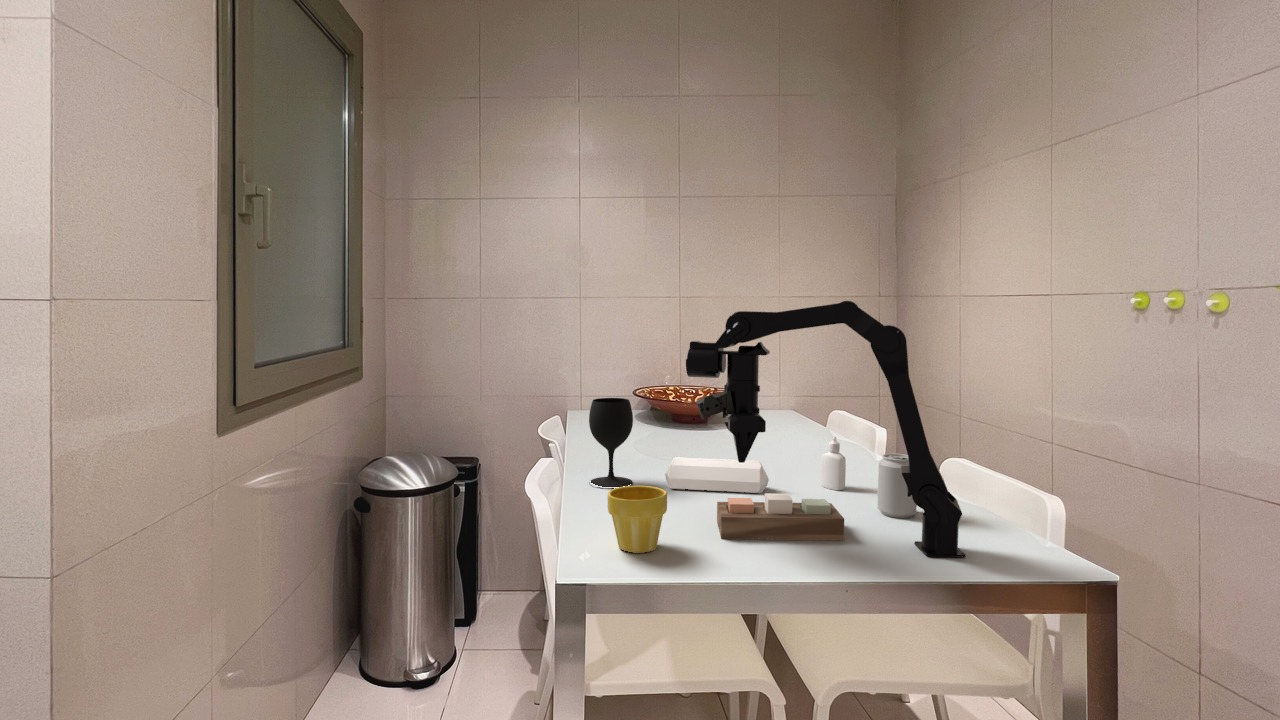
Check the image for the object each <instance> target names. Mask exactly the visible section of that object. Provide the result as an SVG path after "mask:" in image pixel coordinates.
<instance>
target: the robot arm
mask: <svg viewBox="0 0 1280 720" xmlns="http://www.w3.org/2000/svg"><path fill="white" fill-rule="evenodd" d="M839 324H844V325H845V326H848V327H849V328H850V329H851V330H853V331H854V333H857V335H858V336H860V337H862V338H863V339H864V340H866V341H867V342H868V343H870V349H871V351H872V352H873V355H874V356H875V359H876V361H877V362H878V365H879V367H880V369H881V371H882V373H883V374H884V377H885V378H886V381H887V385H888V387H889V391H890V395H891V398H892V402H893V406H894V409H895V413H896V416H897V420H898V423H899V426H900V431H901V435H902V438H903V441H904V446H905V449H906V453H907V455H908V463H909V466H901V471H902V476H903V478H904V480H905V482H906V489H907V496H908V497H910V496H911V495H912V498H913V500H914V503H915V504H916V505H917V507H919V508H920V509H921V510H923V512H922V523H921V541H918V540H917V541H916V540H915V541H914V543H913V545H914V546H915V547H916V548H917V549H919V550H920V551H921V552H922V553H923V554H924V555H925V556H926V557H929V558H930V557H931V558H935V557H936V558H966V556H967V554H966V553H965V552H964V551H963V550H962V549H960V548H959V527H960V526H959V524H960V523H959V522H960V520H961V518H962V516H963V512H962V509H961V507H960V504H959V502H958V499H957V498H956V497H955V496H954V495H953V494H952V493H951V492H950V491H949V490H948V487H947V485H946V483H945V480H944V478H943V475H942V474H941V472H940V469H939V467H938V466H937V463H936V461H935V459H934V456H933V455H932V454H931V451H930V448H929V444H928V441H927V437H926V434H925V431H924V427H923V422H922V419H921V415H920V412H919V408H918V404H917V400H916V397H915V394H914V393H915V392H914V390H913V386H912V382H911V379H910V372H909V357H908V345H907V343H908V342H907V338H906V336H905V333H904V332H903V331H902V330H901V329H900V328H899V327H897V326H895V325H892V324H885V325H884V324H883V323H881V322H880V321H878V320H877V318H874V317H873V316H871V315H870V314H869V313H867V312H866V311H864V310H863V309H862V308H860V307H859V305H858V304H857V303H856V302H853V301H851V300H843V301H841V302H839V303H832V304H824V305H818V306H811V307H805V308H803V307H802V308H797V309H789V310H782V311H754V310H753V311H751V310H750V311H748V310H743V311H736V312H732V313H731V314H730V315H729V316H728V318H727V319H726V323H725V330H724V331H723V332H722V334H721V335H720V336H719V338H717V340H716V342H702V341H698V340H696V341H695V340H694V341H690V342H689V348H688V351H687V354H686V355H687V356H686V359H685V369H686V376H688V377H689V378H705V379H706V378H709V379H711V378H712V379H719V377H720V375H721V373H722V374H724V373H725V371H726V370H727V371H726V372H727V373H726V375H727V376H726V383H725V384H724V386H723V389H724V390H723V391H720V392H717V393H714V394H713V393H710V395H707V396H705V395H703V397H702V398H699V399H697V400H696V401H695V403H696V405H697V409H698V411H699V414H700V418H701V419H702V420H705V419H709V418H711V416H715V415H717V414H720V415H721V417H722V418H723V419H726V417H727V421H726V422H724V421H723V422H724V425H725V427H726V429H727V430H728V432H730V433H731V434H732V437H733V441H734V446H735V451H736V457H737V460H738V462H739V463H744V462H745V460H747V458H748V455H749V453H750V451H751V449H752V447H753V444H754V442H755V440H756V438H757V436H758V434H759V433H766V425H767V424H766V420H765V419H764V418H763V417H762V416H761V415H760V407H759V392H760V391H761V386H760V385H759V366H760V364H759V363H760V362H759V360H760V359H759V357H760V356H768V355H770V352H771V351H770V350H769V349H768V348H766V347H765V346H764V344H763V342H762V341H759V342H757V343H756V344H755V345H739V347H738V348H737V349H738V350H725V349H728V348H731V347H734V346H736V345H738V344H743V343H748V342H752V341H755V340H759V339H762V338H764V337H768V336H770V335H773V334H777V333H780V332H787V331H795V330H800V329H801V330H803V329H808V328H809V329H810V328H817V327H825V326H831V325H839ZM726 368H727V369H726Z"/></svg>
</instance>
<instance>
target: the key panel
mask: <svg viewBox="0 0 1280 720" xmlns="http://www.w3.org/2000/svg"><path fill="white" fill-rule="evenodd" d="M753 503H754V513H728V501H716V523H717V528H718V532H719V534H720V535H719V536H720V540H732V539H733V540H779V541H780V540H781V541H782V540H785V541H786V540H788V541H789V540H790V541H795V540H796V541H844V540H845V517H844V516H843V515H842V514H841V513H840V511H838V510H837V508H836V507H835V506H834V505H833V504H832V503H831V502H828V503H829V504H830V505H831V514H805V513H804V512H803V510H802V502H792V514H767V513H766V511H765V501H753Z"/></svg>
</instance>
